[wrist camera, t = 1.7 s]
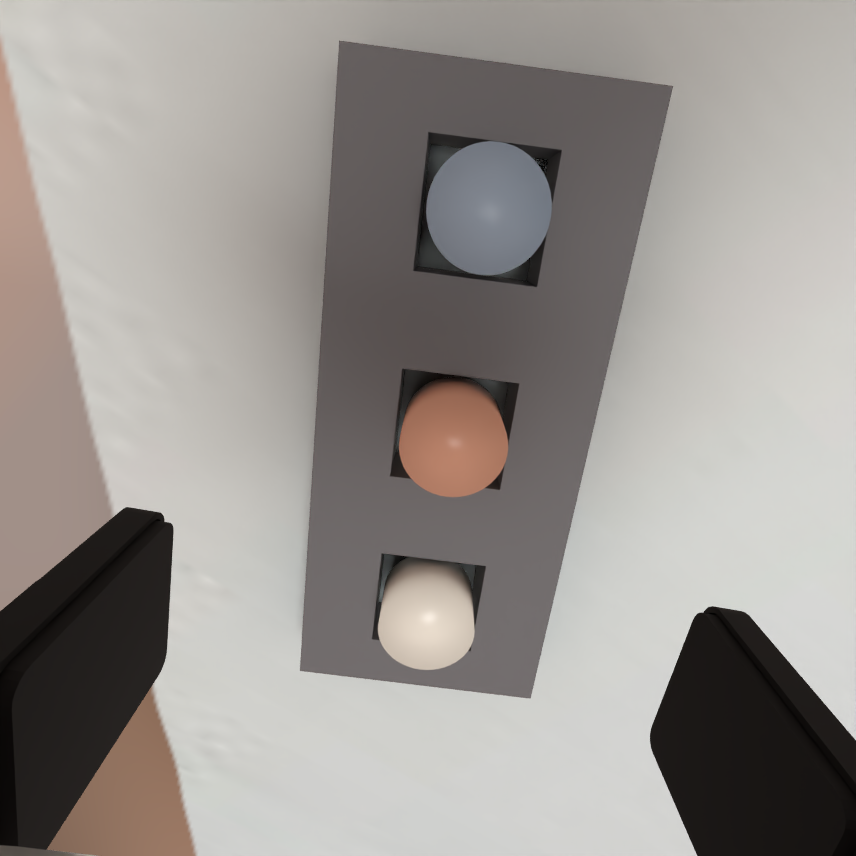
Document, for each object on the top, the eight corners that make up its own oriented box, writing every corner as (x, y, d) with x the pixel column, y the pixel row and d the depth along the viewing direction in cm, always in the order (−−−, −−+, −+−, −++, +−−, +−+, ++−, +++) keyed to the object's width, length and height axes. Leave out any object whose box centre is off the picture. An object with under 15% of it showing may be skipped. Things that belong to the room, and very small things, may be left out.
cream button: (477, 559, 28) (481, 595, 25) (464, 632, 29) (466, 675, 27) (389, 548, 28) (382, 584, 25) (380, 622, 29) (373, 663, 27)
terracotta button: (508, 383, 25) (516, 402, 22) (492, 474, 26) (498, 503, 24) (409, 370, 25) (405, 388, 22) (399, 462, 26) (393, 490, 24)
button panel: (644, 104, 23) (673, 86, 20) (522, 657, 32) (530, 698, 29) (352, 64, 23) (339, 40, 20) (312, 632, 32) (300, 670, 29)
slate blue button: (548, 160, 22) (563, 150, 19) (527, 276, 24) (539, 282, 21) (435, 146, 22) (434, 133, 19) (422, 262, 23) (419, 267, 21)
